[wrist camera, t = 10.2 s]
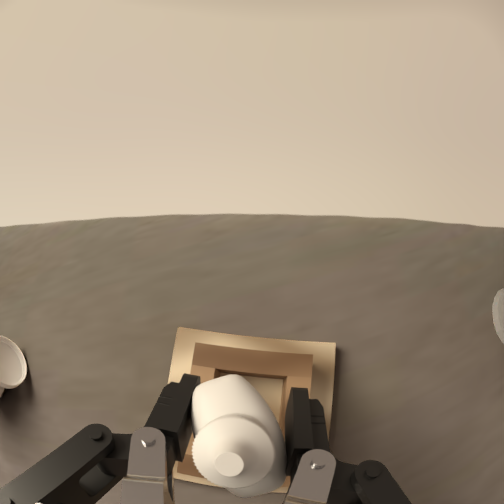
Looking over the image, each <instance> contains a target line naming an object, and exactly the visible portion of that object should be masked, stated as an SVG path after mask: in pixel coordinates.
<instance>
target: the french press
mask: <svg viewBox="0 0 504 504" xmlns="http://www.w3.org/2000/svg"><path fill="white" fill-rule="evenodd" d="M492 311H493V322H494V326H495V329H496V333H497V335H498V336H499V338H500V340H501V342H502V343H503V344H504V288H503V289H501V290H499V291H498V292H497V294H496V296H495V297H494V302H493V307H492Z"/></svg>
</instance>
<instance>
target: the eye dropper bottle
mask: <svg viewBox="0 0 504 504" xmlns="http://www.w3.org/2000/svg"><path fill="white" fill-rule="evenodd" d="M191 425H192V432H193V437H194V442H193V446H192V448H193V449H192V452H193V453H192V455H193V457H192V458H193V459H194V461H193V462H194V463H195V466H197V468H196V469H198V470H199V472H200V473H201V475H203V476H204V478H207V481H210V482H211V483H214V484H215V485H218V486H222V487H223V488H226V489H227V490H228V491H229V492H231V493H232V494H234V495H235V496H238V497H241V498H251V497H255V496H259V495H262V494H265V493H268V492H271V491H274V490H276V489H278V488H279V487H281V486H282V485H283V483H284V482H285V480H286V473H285V472H286V463H287V452H286V446H285V441H284V437H283V434H282V431H281V429H280V426H279V424H278V422H277V419H276V417H275V416H274V414H273V412H272V410H271V409H270V407H269V406H268V404H267V403H266V401H265V400H264V399H263V397H262V396H261V395H260V393H259V392H258V391H257V390H256V389H255V388H254V387H253V386H252V385H251V384H250V383H249V382H248V381H247V380H246V379H245V378H243V377H242V376H239V375H237V374H230V375H226V376H222V377H219V378H215V379H212V380H209V381H206V382H204V383H201V384H200V385H198V386H197V387H196V388H195V390H194V392H193V396H192V403H191Z"/></svg>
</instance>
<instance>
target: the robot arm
mask: <svg viewBox="0 0 504 504" xmlns="http://www.w3.org/2000/svg"><path fill="white" fill-rule="evenodd" d="M200 384H201V379H200V376H197V375H191V374H186V373H184V374H183V376H182V378H181V380H180V382H179V383H177V382H170V383H169V384H168V385H167V386H165V387H164V388H163V390H162V392H161V394H160V397H159V398H158V400H157V403H156V404H155V406H154V408H153V410H152V412H151V414H150V416H149V418H148V420H147V422H146V424H145V426H144V427H143V428H139V429H137V430H136V431H135V432H134V433H133V434H114V433H111V431H110V429H109V428H108V427H106V426H104V425H102V424H91V425H88V426H86V427H85V428H84V429H82V430H81V431H80V432H78V433H77V434H76V435H74V436H73V437H72V438H70V439H69V440H68V441H66V442H65V443H64V444H62V445H61V446H60V447H58V448H57V449H56V450H54V451H53V452H51V453H50V454H49V455H47V456H46V457H45V458H43V459H42V460H40V461H39V462H38V463H36V464H35V465H33V466H32V467H31V468H29V469H28V470H26V471H25V472H24V473H22V474H21V475H19V476H18V477H16V478H15V479H13V480H12V481H11V482H9V483H8V484H6V485H5V486H3V487H2V488H0V504H95V503H96V502H97V501H98V500H99V499H100V498H102V497H103V496H104V495H105V494H106V493H107V492H108V491H109V490H110V489H111V488H112V487H114V486H115V485H116V484H117V483H118V482H119V481H120V480H121V479H122V478H123V480H122V487H121V500H120V504H175V501H174V482H173V467H174V464H175V461H179V462H183V459H184V456H185V453H186V450H187V447H188V444H189V441H190V438H191V435H192V425H191V403H192V396H193V392H194V390H195V388H196V387H197V386H198V385H200ZM285 446H286V452H287V463H286V472H285V473H286V476H290V485H289V488H288V490H287V493H286V495H285V498H284V500H283V503H282V504H411V502H410V501H409V500H408V498H407V497H406V495H405V494H404V493H403V491H402V490H401V488H400V487H399V485H398V484H397V483H396V481H395V480H394V478H393V477H392V476H391V474H390V473H389V471H388V470H387V468H386V467H385V466H384V465H383V464H382V463H380V462H378V461H374V460H368V461H364V462H362V463H360V464H359V465H358V466H357V465H352V464H347V463H343V462H341V461H338V460H337V459H336V458H334V456H333V455H332V454H331V452H330V449H329V442H328V435H327V428H326V421H325V414H324V408H323V406H322V404H321V403H320V402H319V400H318V399H309V394H308V388H298V387H291V390H290V394H289V399H288V403H287V407H286V412H285Z"/></svg>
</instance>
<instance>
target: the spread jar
mask: <svg viewBox="0 0 504 504" xmlns="http://www.w3.org/2000/svg"><path fill="white" fill-rule="evenodd" d="M26 375H27V364H26V360H25V358H24V355H23V353H22V351H21V350H20V349H19V347H18V346H17V345H16V344H15V343H14V342H13V341H12V340H10V339H9V338H6V337H4V336H0V398H1V397H2V396H3V394H4V393H5V391H6V388H8V389H12V388H15V387H17V386H19V385H20V384H21V383H22V382H23V381H24V379H25V378H26Z"/></svg>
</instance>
